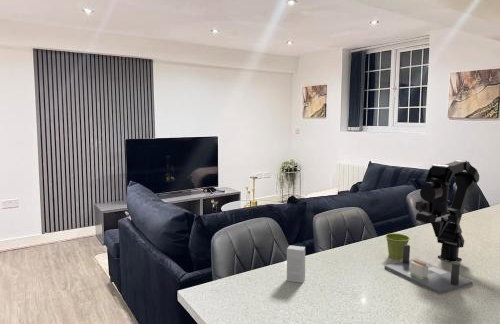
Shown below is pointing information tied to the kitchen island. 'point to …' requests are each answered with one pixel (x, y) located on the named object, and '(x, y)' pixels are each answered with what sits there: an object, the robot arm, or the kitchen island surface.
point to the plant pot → (396, 244)
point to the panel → (429, 277)
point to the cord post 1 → (406, 254)
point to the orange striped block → (419, 268)
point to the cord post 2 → (455, 273)
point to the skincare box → (296, 264)
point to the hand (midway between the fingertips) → (437, 236)
